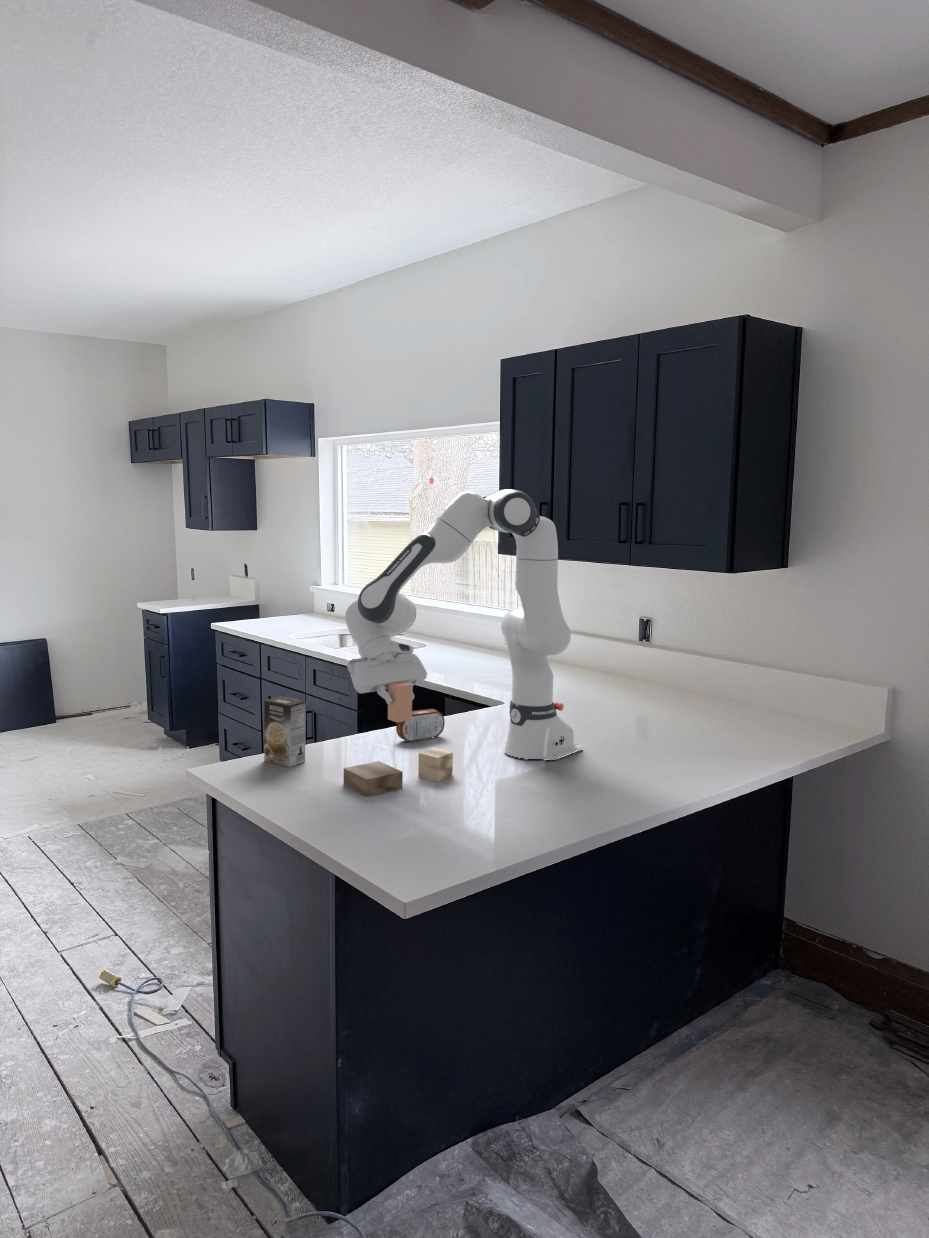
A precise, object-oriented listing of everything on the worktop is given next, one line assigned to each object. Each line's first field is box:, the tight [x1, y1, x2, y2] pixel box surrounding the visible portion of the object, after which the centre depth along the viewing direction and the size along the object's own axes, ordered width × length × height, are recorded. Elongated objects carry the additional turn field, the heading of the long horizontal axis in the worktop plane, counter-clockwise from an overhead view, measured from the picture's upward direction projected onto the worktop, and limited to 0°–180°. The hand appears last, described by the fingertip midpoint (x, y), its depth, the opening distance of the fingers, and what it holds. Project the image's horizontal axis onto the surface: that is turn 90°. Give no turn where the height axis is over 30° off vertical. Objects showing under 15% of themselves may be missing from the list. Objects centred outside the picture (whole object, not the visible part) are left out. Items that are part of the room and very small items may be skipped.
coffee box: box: [263, 695, 307, 768], centre depth 217 cm, size 9×6×16 cm
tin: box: [395, 708, 446, 743], centre depth 241 cm, size 15×3×8 cm, turn 125°
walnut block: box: [343, 760, 404, 797], centre depth 200 cm, size 10×10×4 cm
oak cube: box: [417, 747, 454, 782], centre depth 209 cm, size 6×6×6 cm
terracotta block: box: [387, 682, 413, 724], centre depth 211 cm, size 4×4×9 cm
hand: (401, 700), depth 211 cm, fingers closed on terracotta block, 4 cm apart
